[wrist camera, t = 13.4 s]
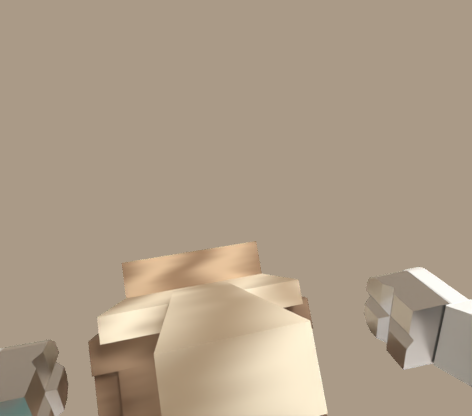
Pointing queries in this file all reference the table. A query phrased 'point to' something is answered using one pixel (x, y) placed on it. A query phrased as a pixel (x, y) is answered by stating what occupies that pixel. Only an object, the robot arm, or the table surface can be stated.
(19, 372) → the robot arm
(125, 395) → the walnut shelf
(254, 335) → the plywood board
